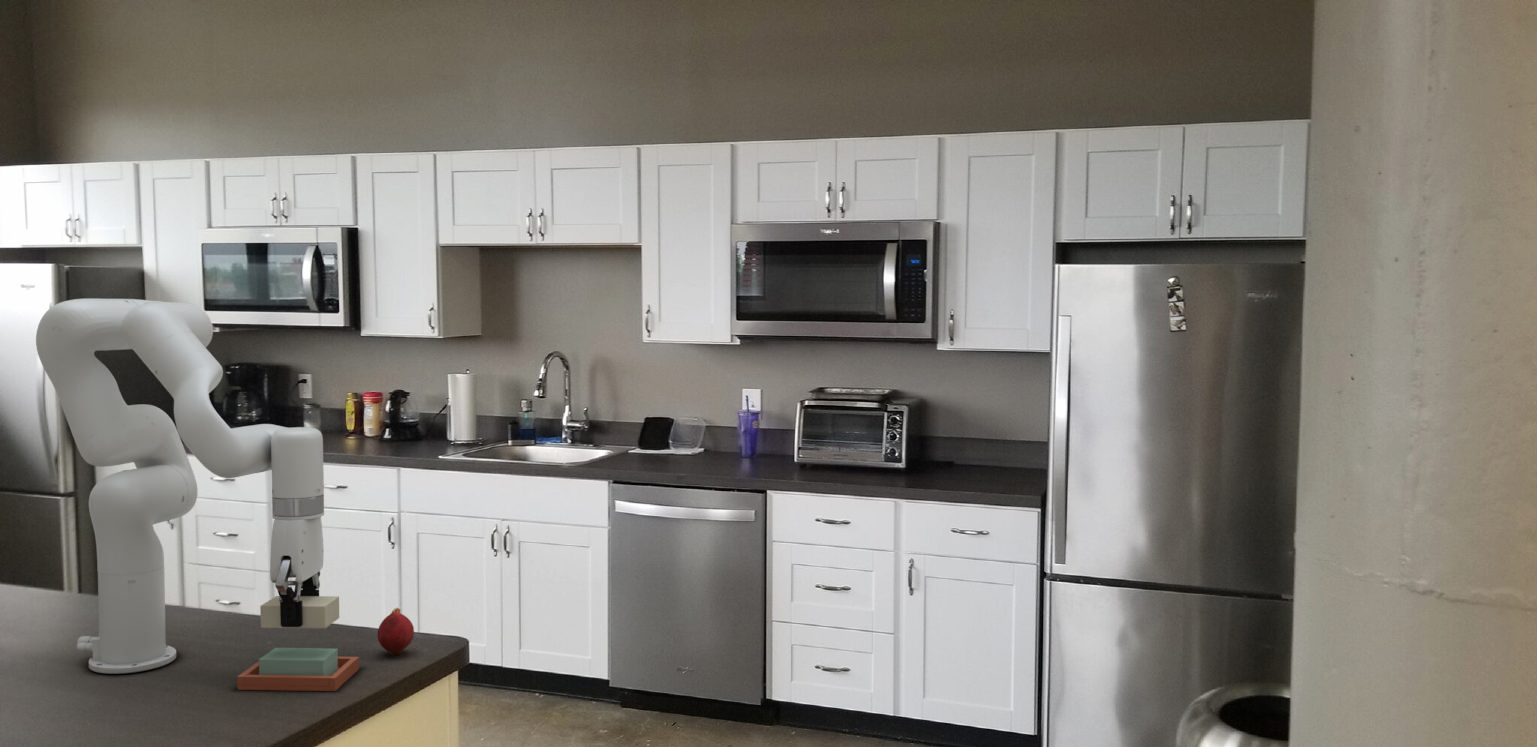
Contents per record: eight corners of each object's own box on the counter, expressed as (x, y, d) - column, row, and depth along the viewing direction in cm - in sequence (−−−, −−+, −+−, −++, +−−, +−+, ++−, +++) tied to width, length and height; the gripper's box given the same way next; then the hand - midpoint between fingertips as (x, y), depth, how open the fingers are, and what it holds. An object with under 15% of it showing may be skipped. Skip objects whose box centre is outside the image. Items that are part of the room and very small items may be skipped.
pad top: (260, 627, 179) (260, 605, 179) (276, 617, 185) (276, 595, 185) (325, 628, 179) (325, 606, 179) (339, 617, 185) (339, 596, 185)
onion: (402, 661, 192) (402, 613, 192) (371, 658, 193) (370, 611, 193) (420, 650, 198) (419, 604, 197) (389, 648, 199) (388, 602, 199)
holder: (237, 689, 177) (237, 676, 177) (266, 667, 188) (266, 655, 188) (335, 691, 178) (335, 677, 177) (359, 669, 188) (359, 656, 188)
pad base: (259, 681, 180) (258, 659, 179) (275, 668, 186) (275, 647, 185) (323, 682, 180) (323, 660, 179) (338, 669, 186) (337, 648, 185)
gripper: (296, 497, 189) (298, 605, 191) (249, 517, 172) (252, 635, 173) (342, 497, 190) (344, 605, 191) (300, 517, 172) (302, 636, 173)
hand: (300, 619), depth 182 cm, fingers closed on pad top, 6 cm apart
